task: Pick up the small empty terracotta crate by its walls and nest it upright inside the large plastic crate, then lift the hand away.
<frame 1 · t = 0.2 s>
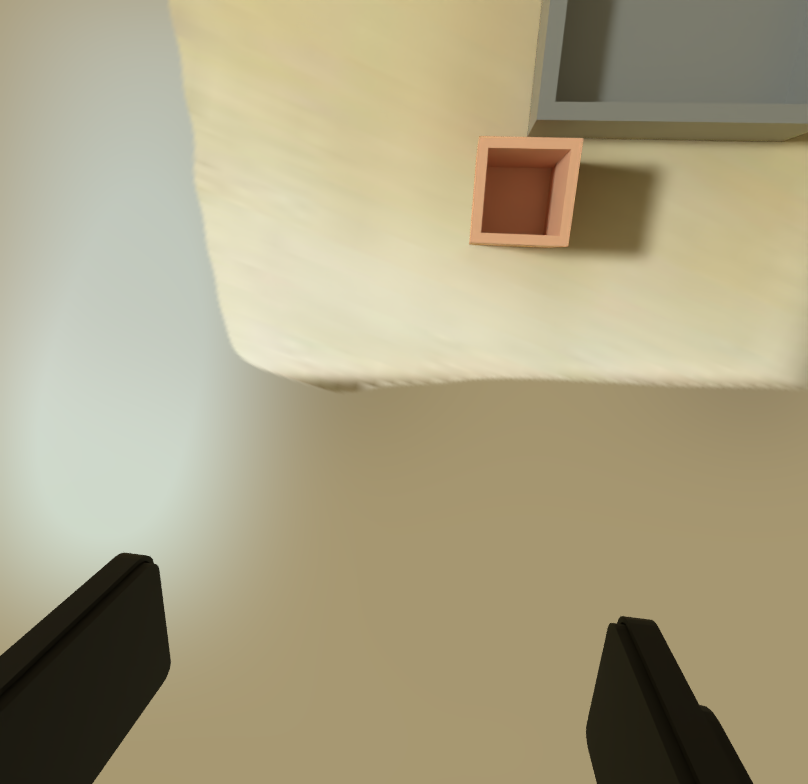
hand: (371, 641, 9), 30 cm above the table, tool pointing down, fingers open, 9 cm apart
small crate: (512, 204, 34), on the table
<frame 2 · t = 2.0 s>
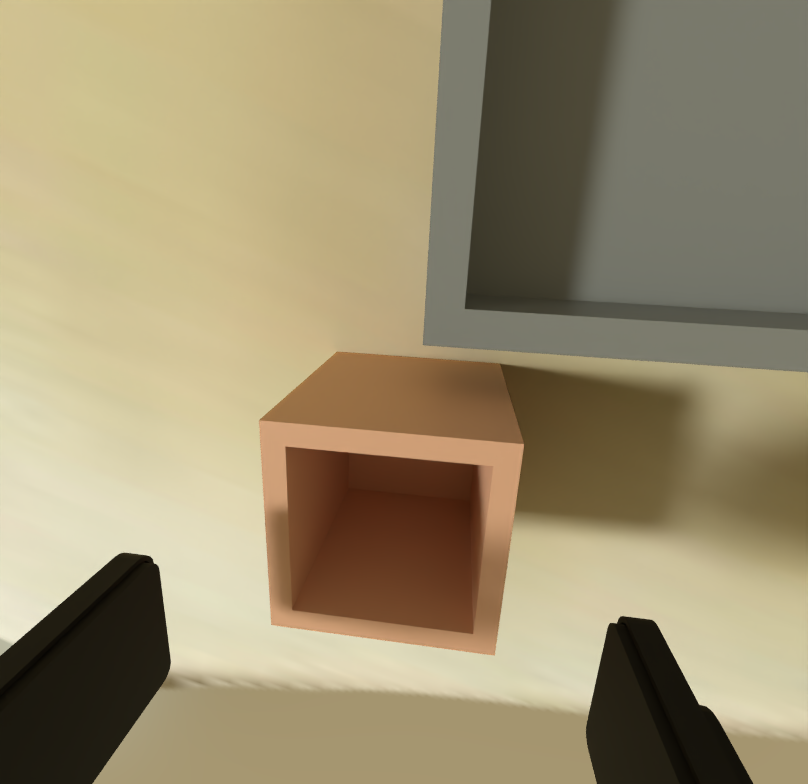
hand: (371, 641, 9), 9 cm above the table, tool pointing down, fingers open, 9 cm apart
large crate: (759, 30, 13), on the table
small crate: (413, 432, 18), on the table
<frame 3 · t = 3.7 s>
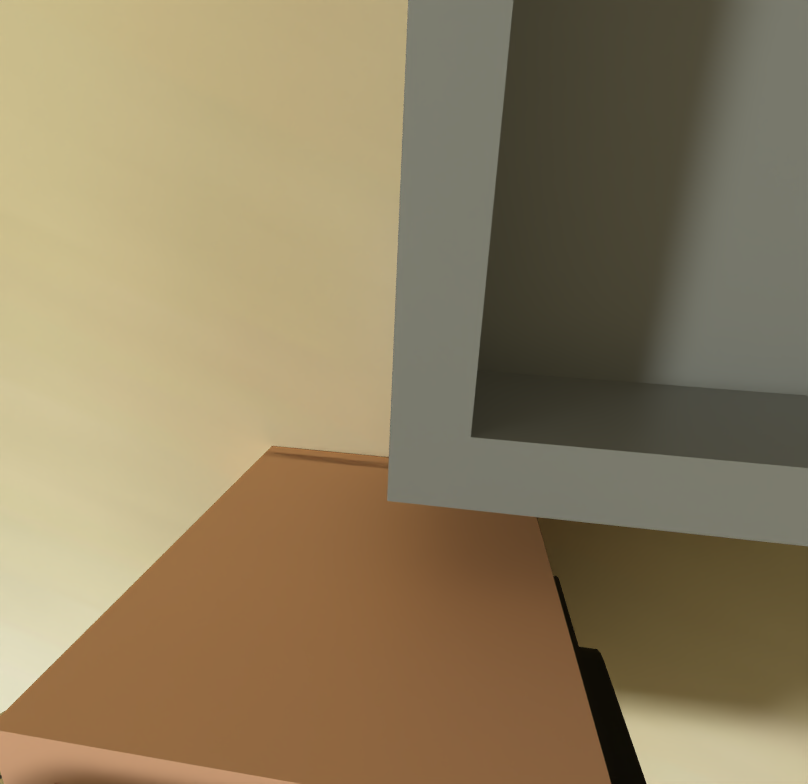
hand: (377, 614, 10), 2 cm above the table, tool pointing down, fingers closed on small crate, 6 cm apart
small crate: (389, 565, 12), on the table, touching gripper
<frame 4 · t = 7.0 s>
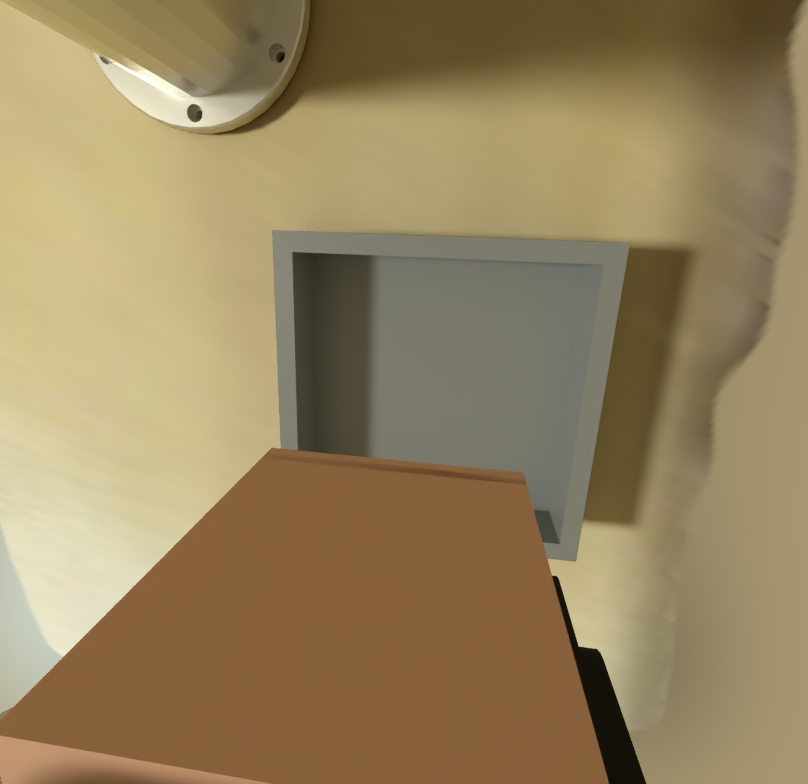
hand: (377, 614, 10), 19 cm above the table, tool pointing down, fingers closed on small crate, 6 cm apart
large crate: (437, 383, 29), on the table
small crate: (389, 567, 12), point 18 cm above the table, touching gripper
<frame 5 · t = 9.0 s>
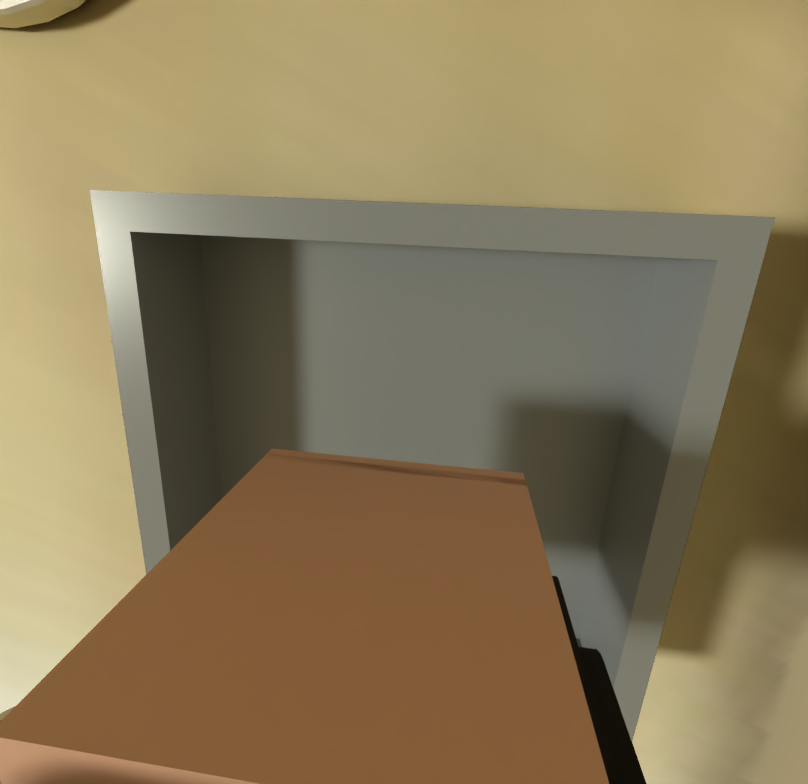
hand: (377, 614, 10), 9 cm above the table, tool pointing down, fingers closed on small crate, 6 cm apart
large crate: (409, 444, 18), on the table
small crate: (389, 567, 12), point 7 cm above the table, touching gripper
when the fingers open (5 cm above the table, at t = 10.7 s): small crate drops 2 cm, resting on large crate.
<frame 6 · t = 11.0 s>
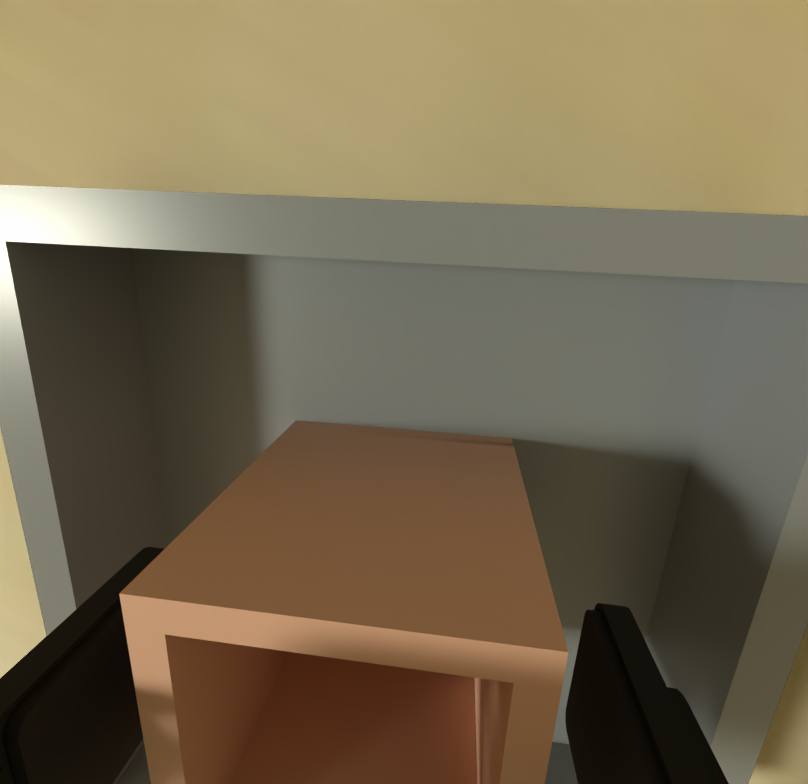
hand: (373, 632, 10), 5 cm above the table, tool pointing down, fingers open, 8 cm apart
large crate: (403, 507, 14), on the table
small crate: (397, 524, 14), point 1 cm above the table, touching large crate
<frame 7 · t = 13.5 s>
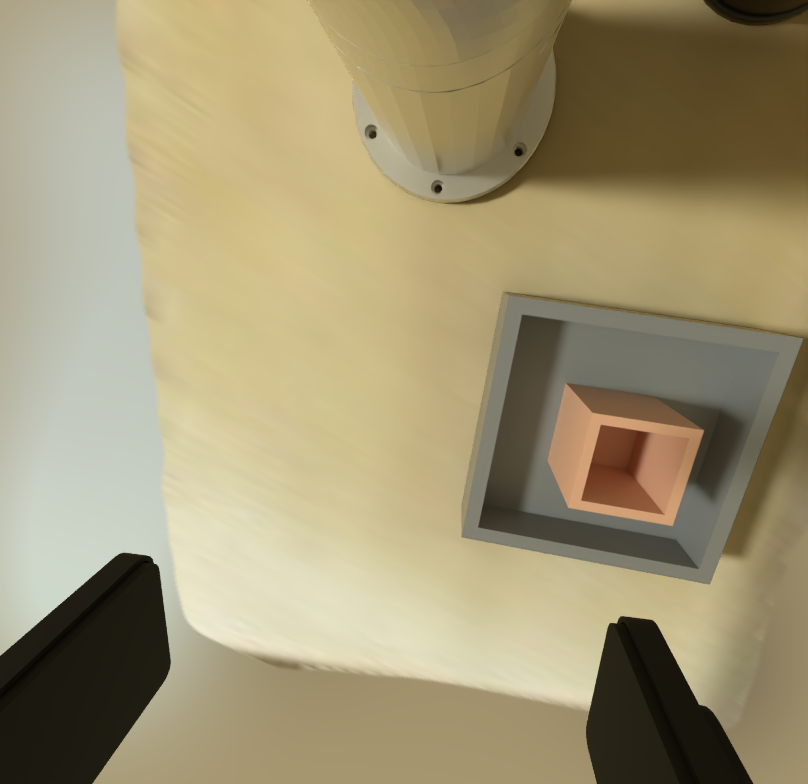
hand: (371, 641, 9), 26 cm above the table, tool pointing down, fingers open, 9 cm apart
large crate: (595, 425, 34), on the table
small crate: (598, 429, 33), point 1 cm above the table, touching large crate
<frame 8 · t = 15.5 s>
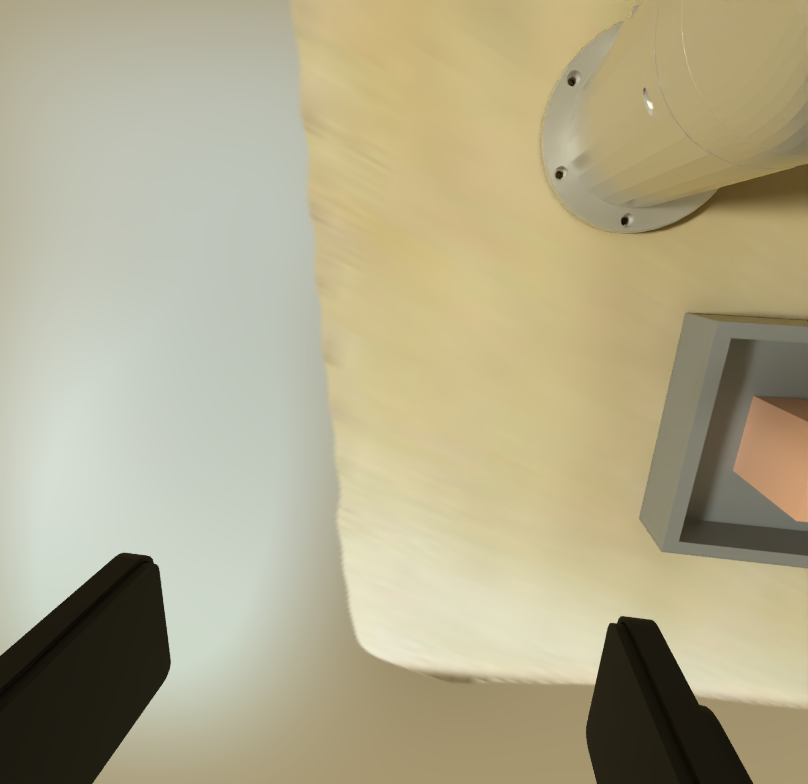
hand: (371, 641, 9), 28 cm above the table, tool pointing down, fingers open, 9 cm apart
large crate: (778, 432, 35), on the table
small crate: (786, 437, 34), point 1 cm above the table, touching large crate
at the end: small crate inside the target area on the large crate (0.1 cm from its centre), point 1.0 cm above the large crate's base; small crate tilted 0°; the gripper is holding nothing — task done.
